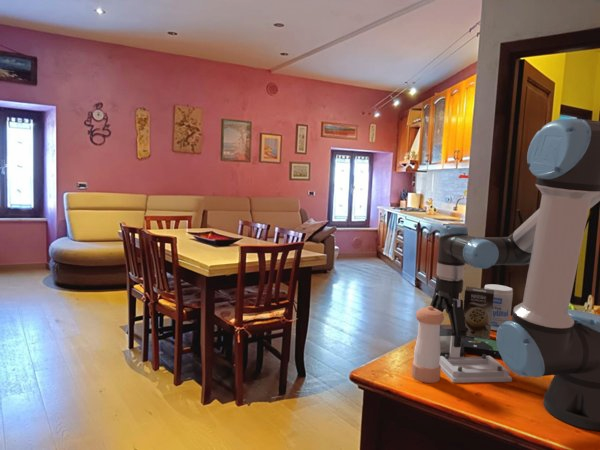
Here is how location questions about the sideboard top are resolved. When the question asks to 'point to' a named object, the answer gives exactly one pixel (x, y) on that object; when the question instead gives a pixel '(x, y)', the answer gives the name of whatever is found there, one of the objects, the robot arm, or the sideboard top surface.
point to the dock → (474, 369)
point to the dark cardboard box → (478, 311)
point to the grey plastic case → (448, 340)
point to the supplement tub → (500, 304)
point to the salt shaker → (427, 346)
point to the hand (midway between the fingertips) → (443, 347)
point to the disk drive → (481, 346)
